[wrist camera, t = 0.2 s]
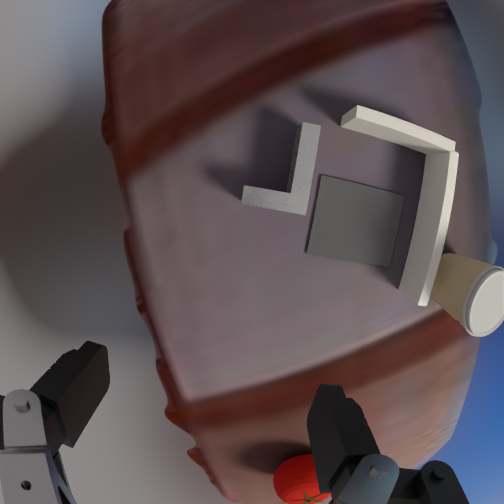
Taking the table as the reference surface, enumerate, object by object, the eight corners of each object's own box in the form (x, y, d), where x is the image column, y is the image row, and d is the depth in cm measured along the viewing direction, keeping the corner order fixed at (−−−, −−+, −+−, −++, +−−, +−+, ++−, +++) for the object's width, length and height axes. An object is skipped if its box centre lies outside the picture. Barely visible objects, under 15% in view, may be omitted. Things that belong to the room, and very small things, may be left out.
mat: (321, 175, 35) (321, 175, 35) (403, 195, 36) (404, 195, 35) (306, 252, 38) (306, 253, 37) (387, 267, 38) (388, 267, 38)
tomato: (281, 480, 48) (285, 518, 38) (264, 453, 46) (266, 496, 36) (336, 466, 48) (346, 503, 37) (326, 437, 45) (337, 479, 35)
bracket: (298, 211, 36) (305, 215, 32) (242, 201, 36) (241, 203, 31) (311, 133, 34) (320, 125, 29) (256, 122, 34) (256, 113, 29)
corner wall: (341, 116, 34) (357, 105, 28) (435, 147, 34) (459, 144, 28) (312, 276, 38) (322, 293, 32) (406, 290, 39) (426, 306, 33)
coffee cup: (422, 313, 40) (464, 349, 28) (418, 256, 38) (468, 281, 26) (465, 294, 39) (510, 322, 27) (464, 240, 37) (515, 258, 25)
